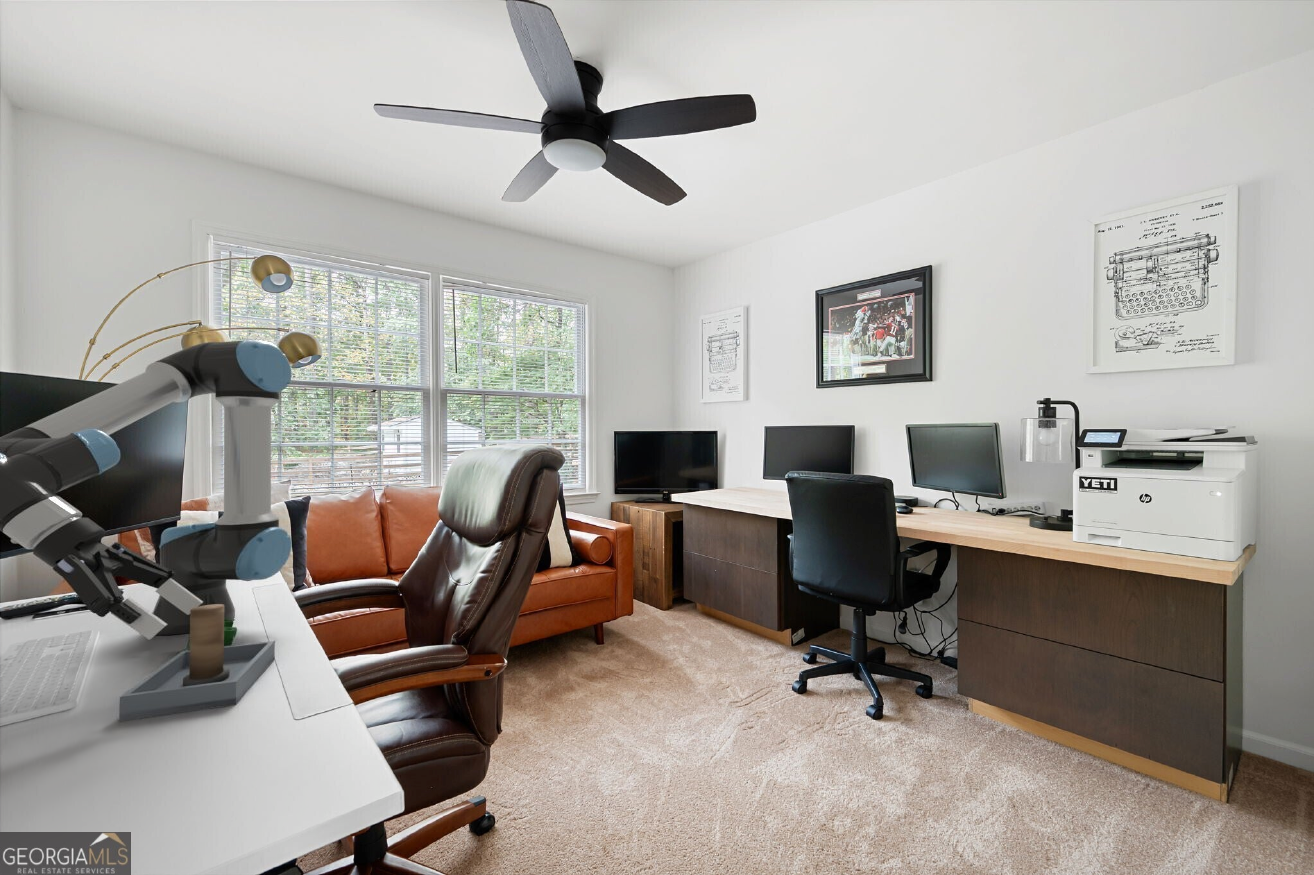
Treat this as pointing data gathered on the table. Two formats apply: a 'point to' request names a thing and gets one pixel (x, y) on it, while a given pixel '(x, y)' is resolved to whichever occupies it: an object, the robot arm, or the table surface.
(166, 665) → the tray
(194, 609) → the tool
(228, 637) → the clamp
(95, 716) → the table surface
